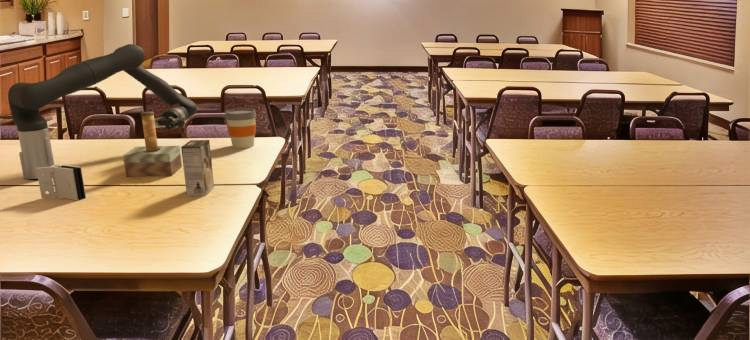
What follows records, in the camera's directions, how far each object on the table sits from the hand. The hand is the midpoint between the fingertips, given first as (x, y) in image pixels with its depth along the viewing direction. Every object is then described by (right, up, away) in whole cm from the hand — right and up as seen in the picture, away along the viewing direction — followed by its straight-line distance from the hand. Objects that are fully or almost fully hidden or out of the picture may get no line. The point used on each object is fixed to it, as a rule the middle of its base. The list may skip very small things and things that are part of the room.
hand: (159, 126), depth 216 cm
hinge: (-18, -25, -34) cm, 46 cm away
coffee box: (+24, -23, -30) cm, 45 cm away
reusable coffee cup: (+25, -6, +30) cm, 39 cm away
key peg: (+1, -12, -8) cm, 14 cm away
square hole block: (+1, -17, -6) cm, 18 cm away
